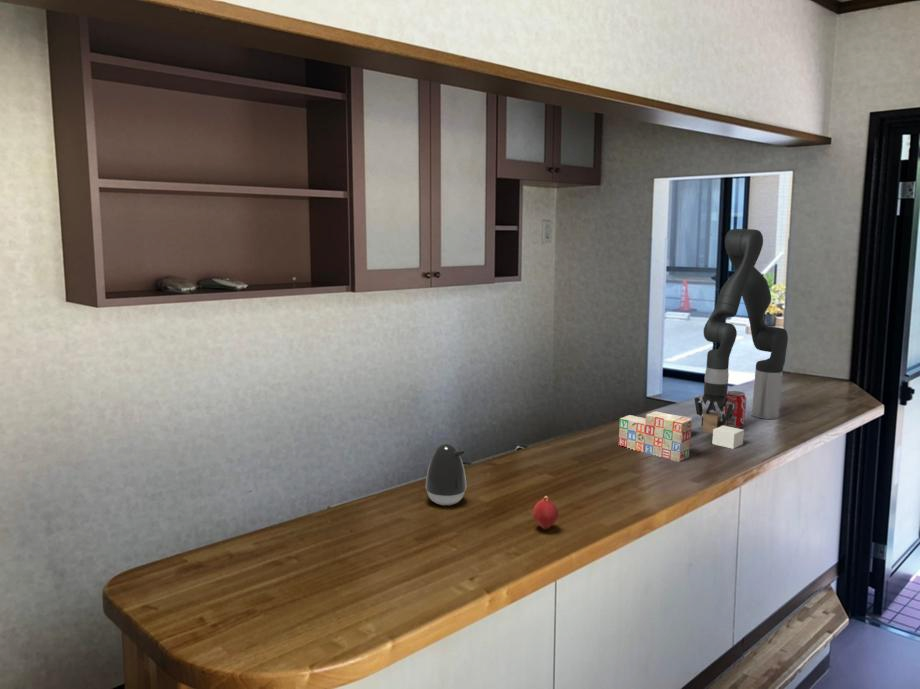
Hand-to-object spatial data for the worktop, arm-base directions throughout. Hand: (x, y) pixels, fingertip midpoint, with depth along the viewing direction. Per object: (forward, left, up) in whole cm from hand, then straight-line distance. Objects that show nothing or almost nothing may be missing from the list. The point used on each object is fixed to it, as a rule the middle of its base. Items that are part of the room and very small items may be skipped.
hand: (712, 429), depth 257 cm
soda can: (-12, +2, -1) cm, 12 cm away
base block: (+10, +10, -1) cm, 14 cm away
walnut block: (0, 0, -1) cm, 1 cm away
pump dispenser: (+111, -17, -1) cm, 112 cm away
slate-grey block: (+12, -5, -1) cm, 13 cm away
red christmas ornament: (+106, +10, -1) cm, 107 cm away
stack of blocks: (+35, -2, -1) cm, 35 cm away
